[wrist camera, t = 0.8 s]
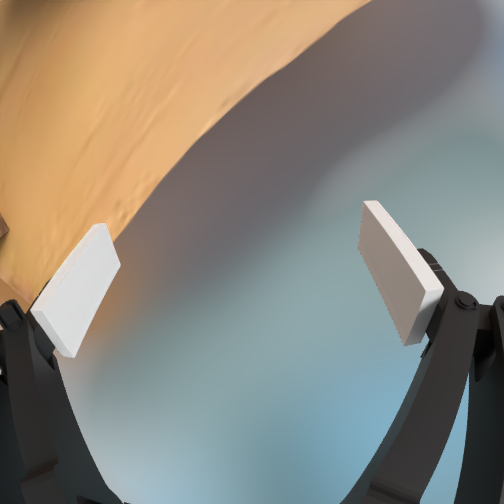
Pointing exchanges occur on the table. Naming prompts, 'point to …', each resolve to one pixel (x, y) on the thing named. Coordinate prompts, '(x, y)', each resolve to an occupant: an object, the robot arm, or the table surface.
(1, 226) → the stand
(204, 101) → the table surface
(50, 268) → the table surface
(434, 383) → the robot arm
